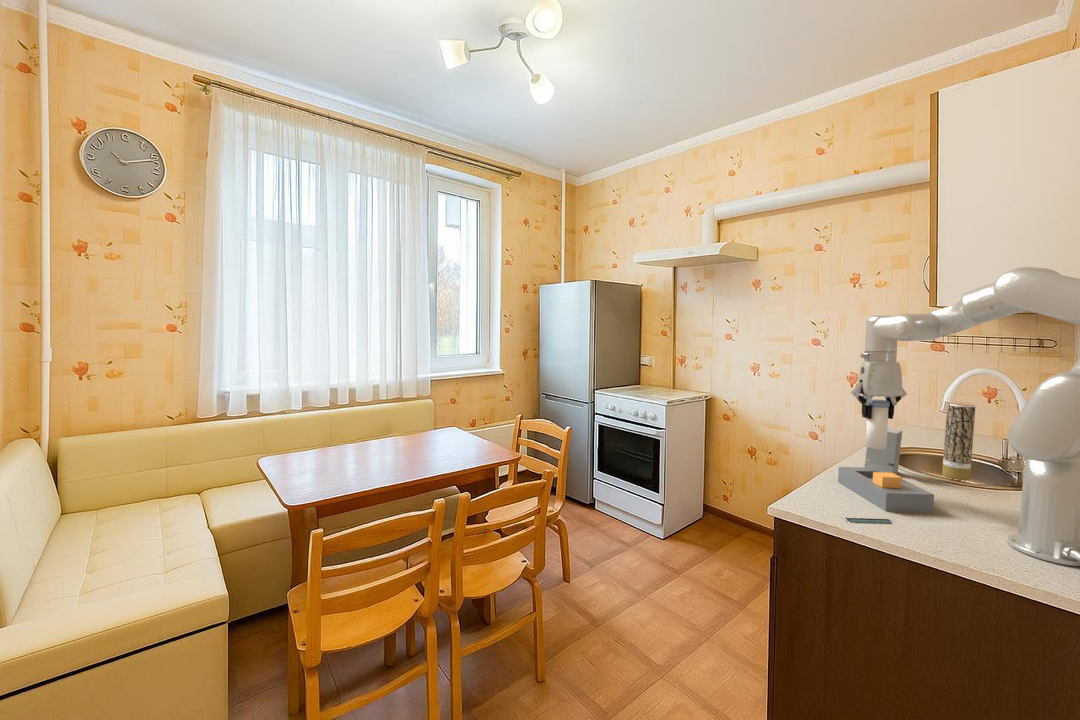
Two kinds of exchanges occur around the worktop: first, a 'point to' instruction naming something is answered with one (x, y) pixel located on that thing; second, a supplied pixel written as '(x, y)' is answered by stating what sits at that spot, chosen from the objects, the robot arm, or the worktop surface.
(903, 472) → the worktop surface
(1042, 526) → the robot arm
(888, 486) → the release slider
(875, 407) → the cartridge
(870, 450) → the skincare box
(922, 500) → the housing
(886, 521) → the thin grey strip
